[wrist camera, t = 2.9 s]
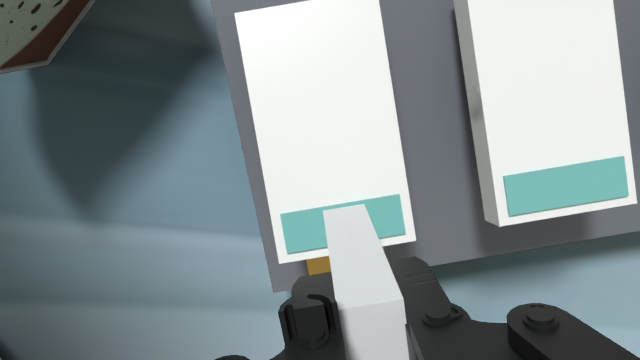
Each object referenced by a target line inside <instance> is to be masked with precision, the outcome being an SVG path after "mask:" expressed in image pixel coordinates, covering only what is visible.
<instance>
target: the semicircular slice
mask: <svg viewBox="0 0 640 360" xmlns="http://www.w3.org/2000/svg"><path fill="white" fill-rule="evenodd" d="M95 1H96V0H0V74H3V73H8V72H14V71H19V70H24V69H29V68H34V67H39V66H45V65H49V63H50V62H51V61H52V59H53V58H54V56H55V55H56V54H57V52H58V51H59V50H60V48H61V47H62V46H63V44H64V43H65V42H66V40H67V39H68V37H69V36H70V35H71V33H72V32H73V31H74V29H75V28H76V27H77V25H78V24H79V23H80V21H81V20H82V19H83V17H84V16H85V14H86V13H87V12H88V10H89V9H90V8H91V6H92V5H93V4H94V2H95Z"/></svg>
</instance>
